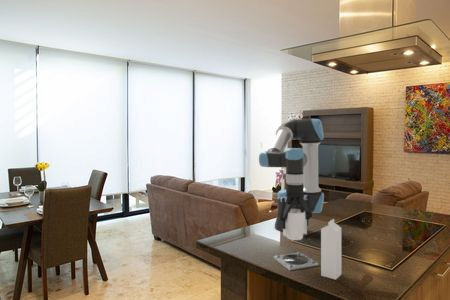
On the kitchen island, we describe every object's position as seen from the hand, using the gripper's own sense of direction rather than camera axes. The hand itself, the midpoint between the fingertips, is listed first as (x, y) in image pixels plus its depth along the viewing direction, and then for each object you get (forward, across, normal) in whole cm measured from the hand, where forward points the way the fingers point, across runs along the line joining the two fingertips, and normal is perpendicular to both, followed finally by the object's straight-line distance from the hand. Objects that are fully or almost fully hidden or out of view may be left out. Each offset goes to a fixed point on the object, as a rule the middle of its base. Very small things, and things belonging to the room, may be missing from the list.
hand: (294, 234), depth 141 cm
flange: (+12, 0, 0) cm, 12 cm away
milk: (+12, -6, +17) cm, 22 cm away
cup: (+2, 0, 0) cm, 2 cm away
